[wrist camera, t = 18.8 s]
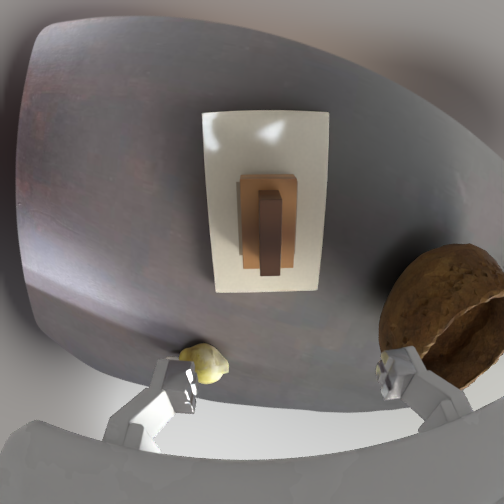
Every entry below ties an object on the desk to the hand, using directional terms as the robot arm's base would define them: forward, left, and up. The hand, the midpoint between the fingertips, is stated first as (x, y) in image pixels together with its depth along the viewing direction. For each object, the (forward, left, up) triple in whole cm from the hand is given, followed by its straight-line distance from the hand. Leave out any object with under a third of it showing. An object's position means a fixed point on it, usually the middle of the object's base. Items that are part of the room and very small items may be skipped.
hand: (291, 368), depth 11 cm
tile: (0, 0, -21) cm, 21 cm away
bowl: (+11, +22, -21) cm, 32 cm away
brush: (+1, 0, -19) cm, 19 cm away
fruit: (+22, -10, -21) cm, 32 cm away
